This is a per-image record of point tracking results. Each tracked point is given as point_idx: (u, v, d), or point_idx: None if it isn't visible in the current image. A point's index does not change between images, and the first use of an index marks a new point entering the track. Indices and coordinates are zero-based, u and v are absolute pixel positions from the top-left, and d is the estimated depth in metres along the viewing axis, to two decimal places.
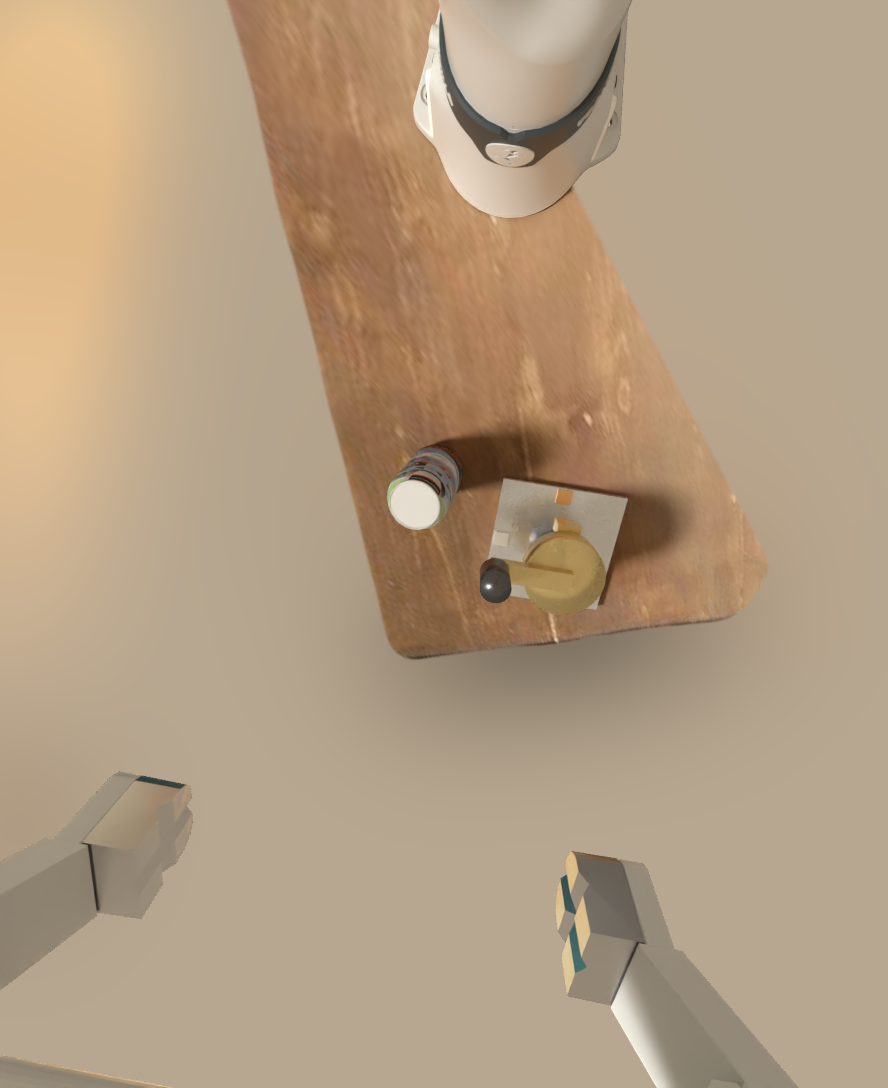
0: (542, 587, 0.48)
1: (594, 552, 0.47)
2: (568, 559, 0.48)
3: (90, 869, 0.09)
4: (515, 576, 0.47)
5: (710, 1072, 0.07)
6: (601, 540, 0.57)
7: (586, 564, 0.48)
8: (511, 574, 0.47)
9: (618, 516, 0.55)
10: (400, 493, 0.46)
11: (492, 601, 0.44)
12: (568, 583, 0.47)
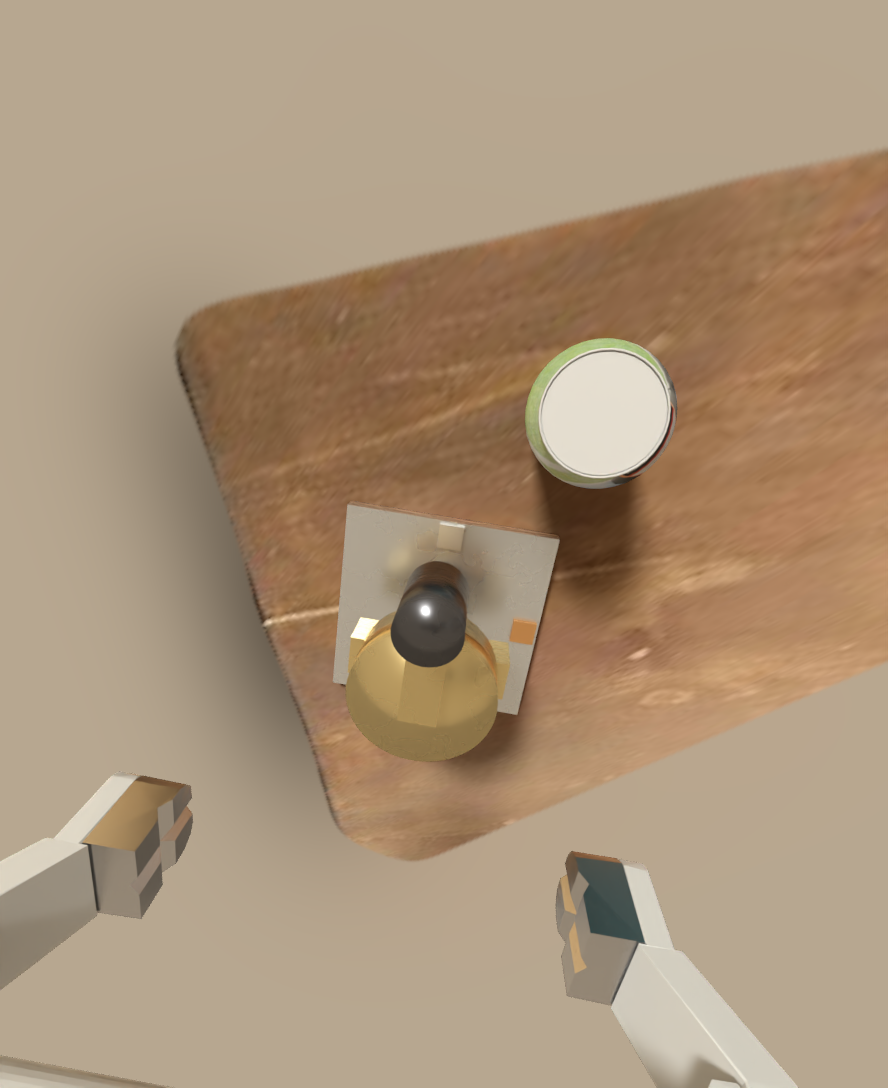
0: (406, 677, 0.24)
1: (473, 744, 0.26)
2: (459, 705, 0.26)
3: (90, 869, 0.09)
4: None
5: (710, 1072, 0.07)
6: None
7: (450, 733, 0.26)
8: None
9: None
10: (636, 381, 0.18)
11: (394, 628, 0.18)
12: (418, 718, 0.25)
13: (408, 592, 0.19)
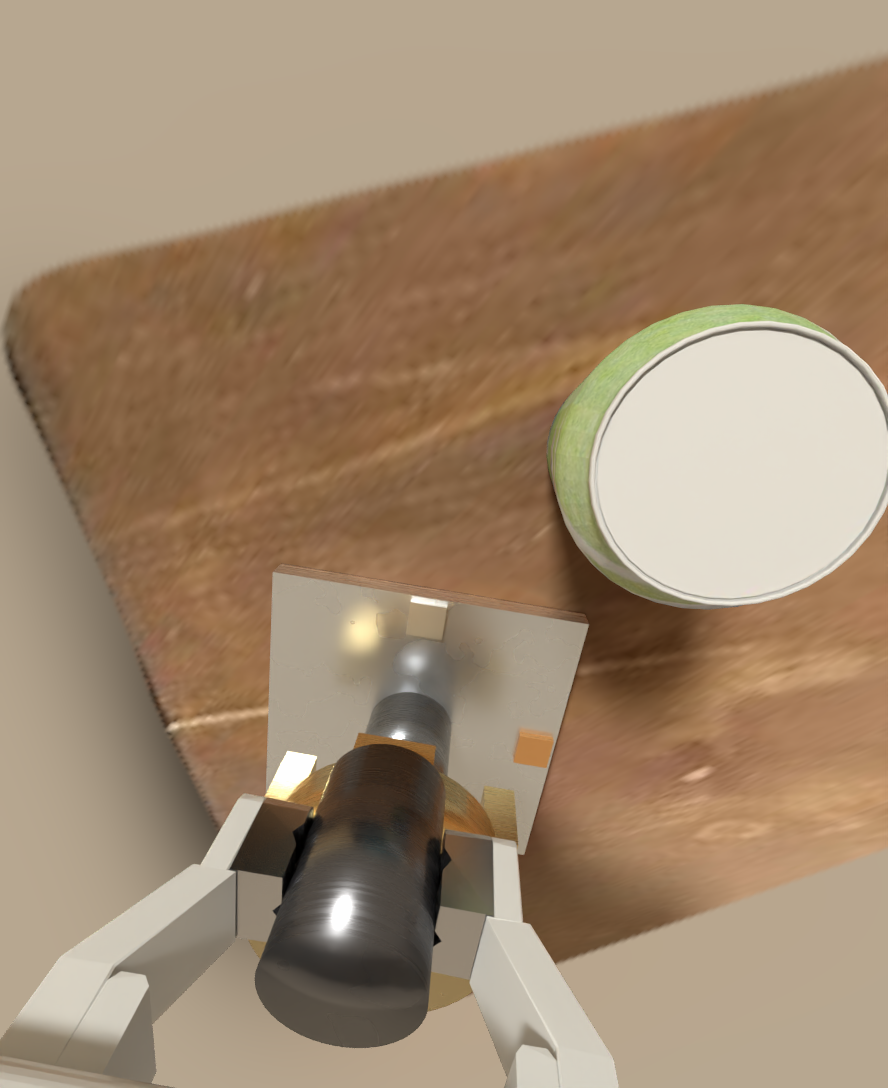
0: None
1: (459, 995, 0.16)
2: None
3: (236, 895, 0.09)
4: None
5: (533, 1040, 0.07)
6: None
7: None
8: None
9: None
10: (819, 398, 0.08)
11: (262, 978, 0.08)
12: None
13: (308, 858, 0.09)
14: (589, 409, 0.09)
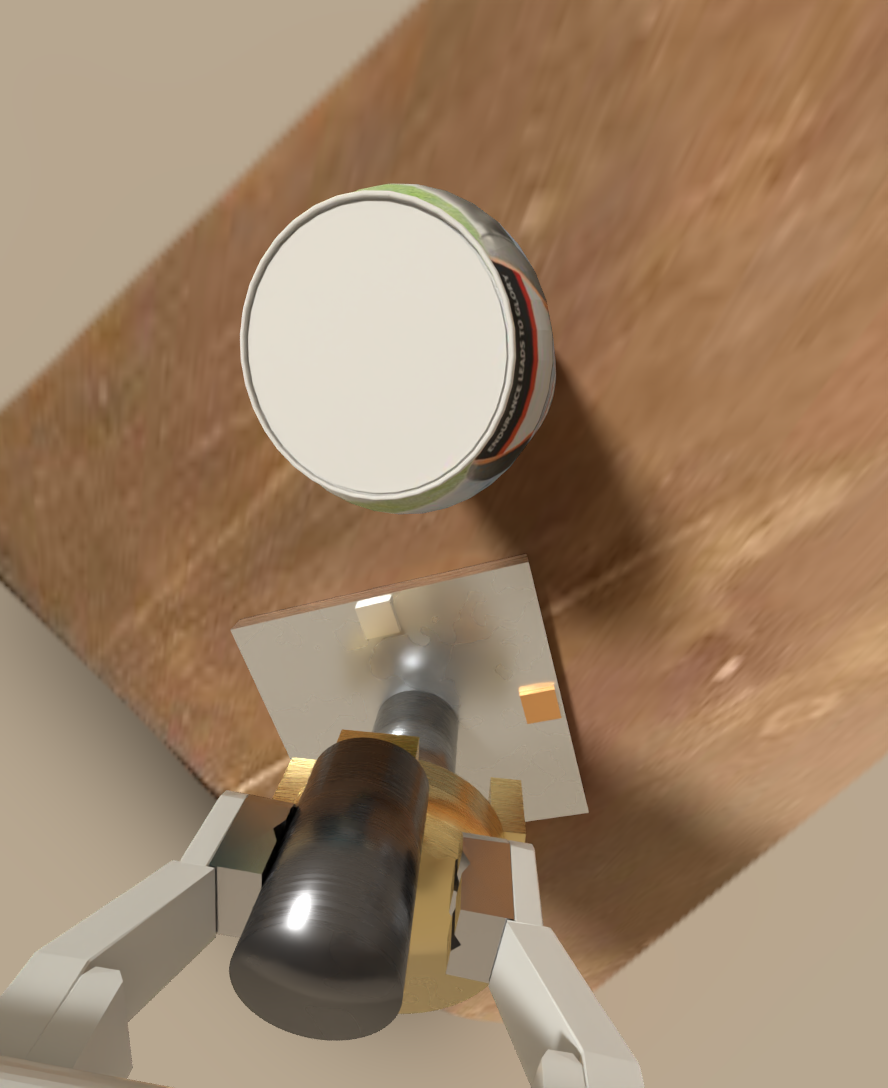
0: None
1: (476, 989, 0.16)
2: (445, 936, 0.15)
3: (215, 892, 0.09)
4: None
5: (557, 1043, 0.07)
6: None
7: (435, 976, 0.16)
8: None
9: (544, 811, 0.25)
10: (396, 250, 0.08)
11: (236, 974, 0.08)
12: None
13: (281, 854, 0.09)
14: None
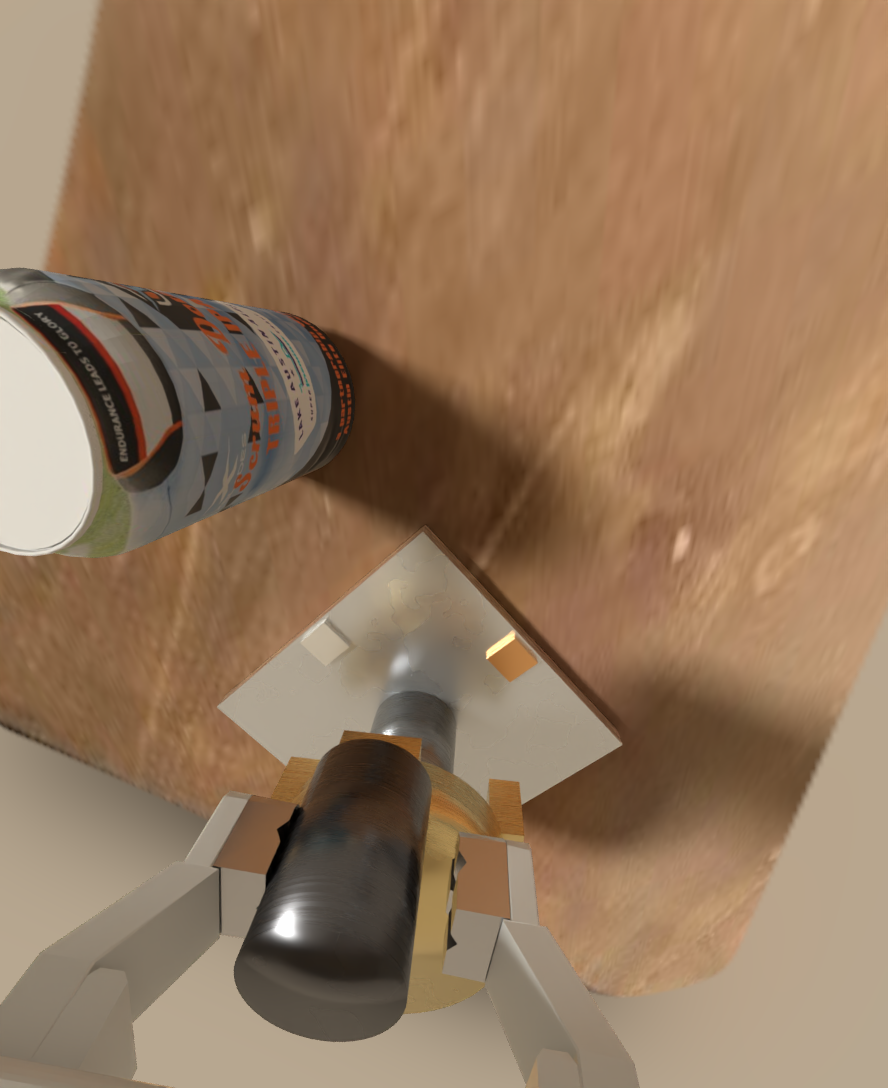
0: None
1: (473, 990, 0.16)
2: (443, 937, 0.15)
3: (219, 892, 0.09)
4: None
5: (552, 1043, 0.07)
6: (515, 777, 0.24)
7: (432, 976, 0.16)
8: None
9: (579, 760, 0.24)
10: None
11: (241, 975, 0.08)
12: None
13: (286, 855, 0.09)
14: None
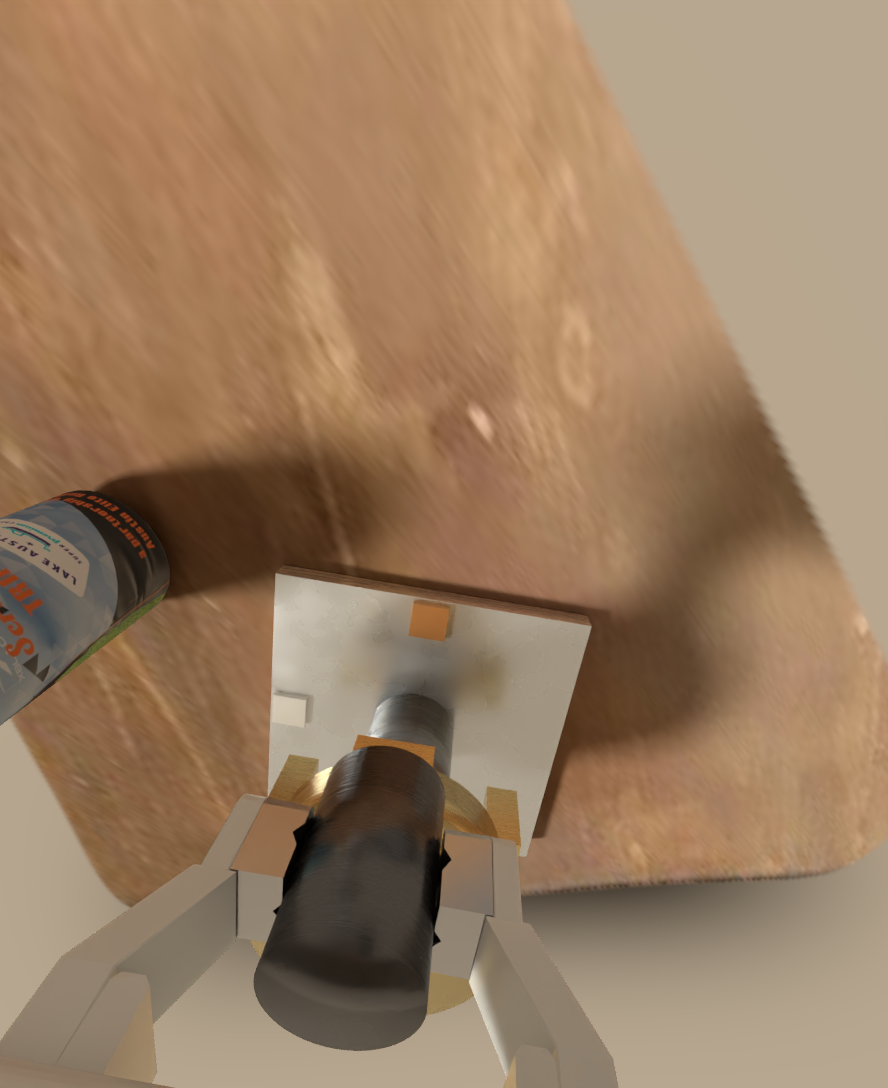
0: None
1: (464, 997, 0.16)
2: None
3: (236, 895, 0.09)
4: None
5: (533, 1039, 0.07)
6: (531, 717, 0.23)
7: None
8: None
9: (568, 666, 0.22)
10: None
11: (261, 981, 0.08)
12: None
13: (307, 861, 0.09)
14: None
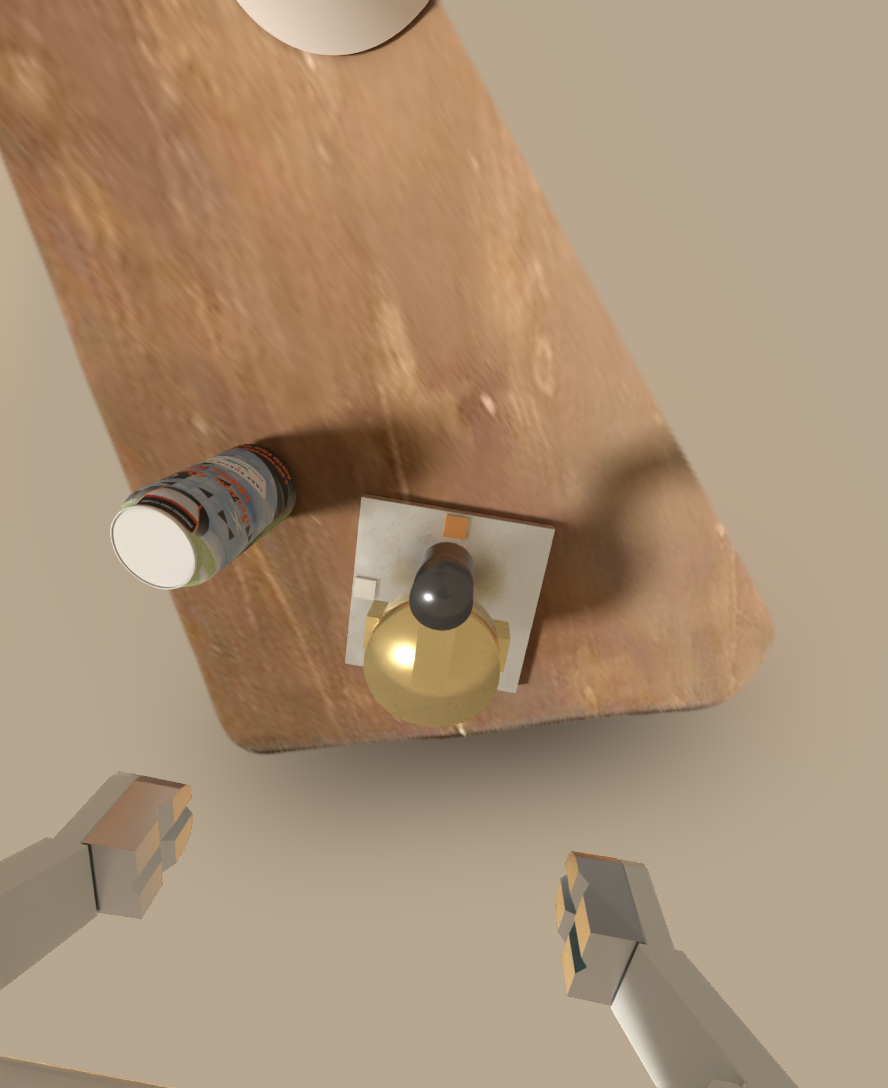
0: (419, 646, 0.27)
1: (478, 710, 0.29)
2: (466, 674, 0.29)
3: (90, 869, 0.09)
4: None
5: (710, 1073, 0.07)
6: (518, 591, 0.37)
7: (457, 700, 0.29)
8: None
9: (541, 556, 0.36)
10: (126, 528, 0.26)
11: (412, 596, 0.21)
12: (429, 685, 0.28)
13: (423, 566, 0.22)
14: None
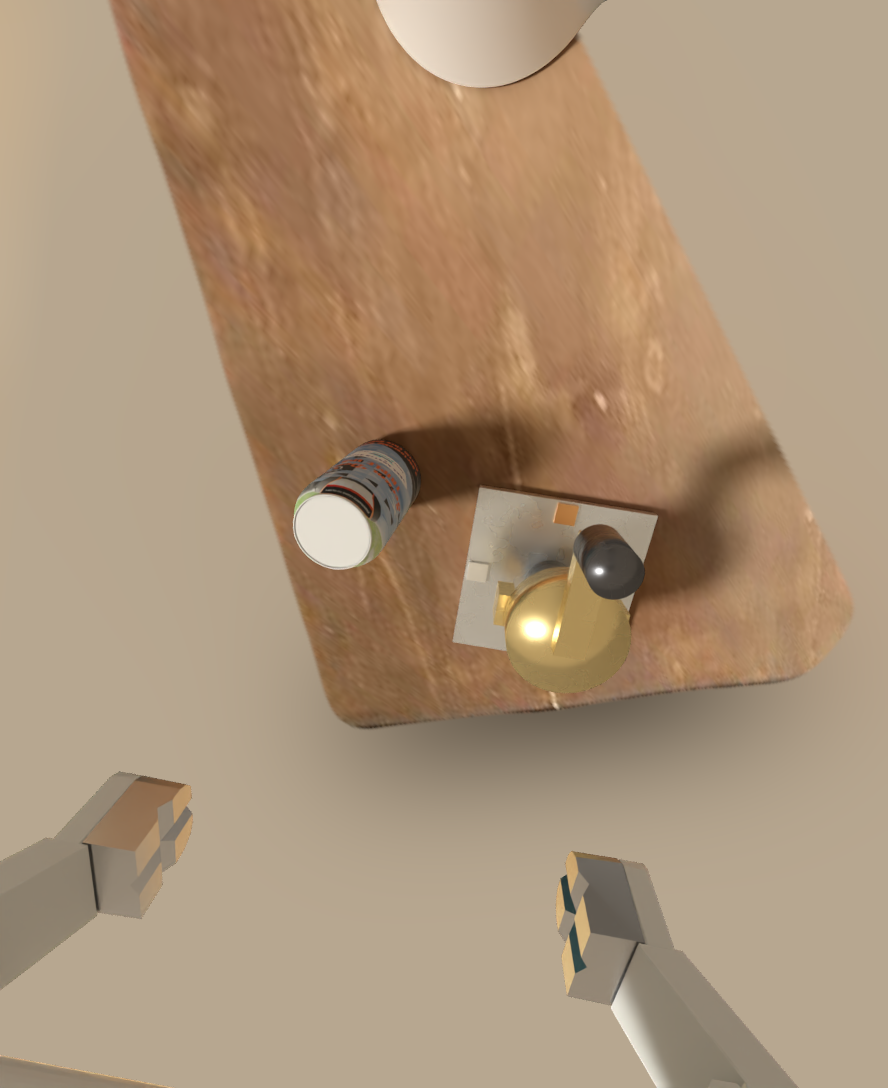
0: (565, 618, 0.30)
1: (608, 677, 0.33)
2: (599, 644, 0.32)
3: (90, 869, 0.09)
4: (587, 579, 0.29)
5: (710, 1073, 0.07)
6: None
7: (589, 668, 0.32)
8: None
9: (644, 540, 0.39)
10: (309, 514, 0.29)
11: (590, 569, 0.25)
12: (570, 653, 0.31)
13: (593, 544, 0.26)
14: None
